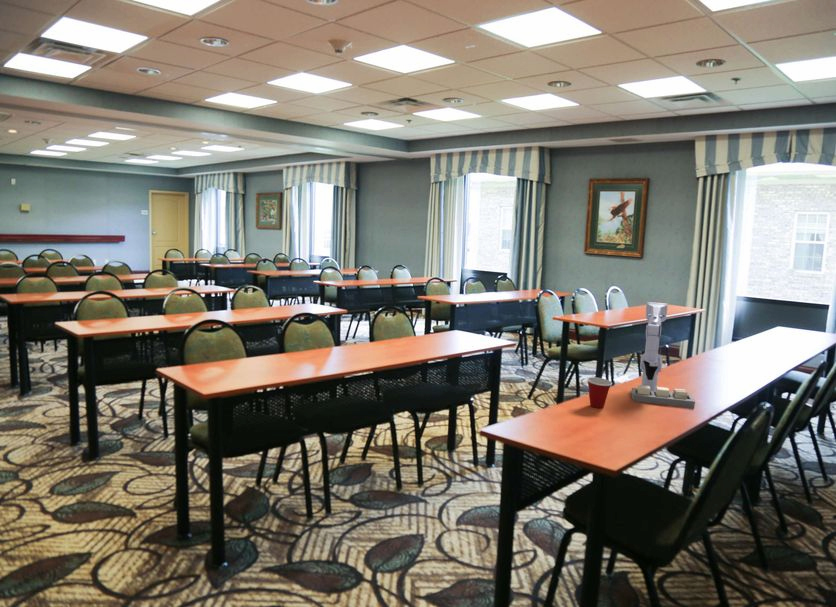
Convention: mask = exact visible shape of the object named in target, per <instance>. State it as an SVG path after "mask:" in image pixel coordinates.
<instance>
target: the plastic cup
mask: <svg viewBox="0 0 836 607" xmlns="http://www.w3.org/2000/svg"><path fill="white" fill-rule="evenodd" d="M586 381H587V384H588V385H587V386H588V397H589V404H590V407H592V408H595V409H604V407H605V405H606V404H605V403H606V401H607V397H608V394H609V390H610V388H611V386H612V385H613V382H612V381H611V380H609V379H606V378H602V377H594V376H591V377H587V378H586Z"/></svg>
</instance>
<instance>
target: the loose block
mask: <svg viewBox="0 0 836 607" xmlns="http://www.w3.org/2000/svg"><path fill="white" fill-rule="evenodd" d="M672 392H673V396H674V398H682V399H687V394H689V393H688V391H687V389H684V388H673V391H672Z"/></svg>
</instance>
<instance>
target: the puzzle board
mask: <svg viewBox="0 0 836 607" xmlns="http://www.w3.org/2000/svg"><path fill="white" fill-rule="evenodd" d="M630 394H631V398H632V402H635V403H645V404H654V405H663V406H672V407H680V408H681V407H682V408H689V409H690V408H691V409H695V405H696V400H694V398H693V395H692V394H691V393H688V394H687V399H682V398H674V396H673V391H670V389H669V387H663V386H657V387H656V390H650V386H645V385H641V384H637V388H636V387H631V393H630Z"/></svg>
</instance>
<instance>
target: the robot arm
mask: <svg viewBox="0 0 836 607" xmlns="http://www.w3.org/2000/svg"><path fill="white" fill-rule="evenodd" d="M667 315H668V303H666V302H665V303H664V302H651V301H647V302H646V306H645V318H646V321H647V322H648V323H647V325H646V327H645V340H646V341H645V347H644V353H643V354H642V355H641V357H640V363H639V364H640V365H639V369H640V370H641V372H642V374H641V375H642V376H641V384H640V385H645V386H650V390H656V387H658V380H659V373H661V372H662V366H663V357H662V356H661V355H660V354H659V347H660V337H661V334H662V323H663V322H665V321H666V319H667Z"/></svg>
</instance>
